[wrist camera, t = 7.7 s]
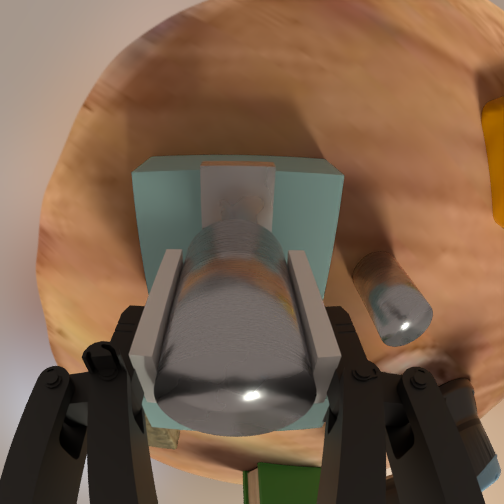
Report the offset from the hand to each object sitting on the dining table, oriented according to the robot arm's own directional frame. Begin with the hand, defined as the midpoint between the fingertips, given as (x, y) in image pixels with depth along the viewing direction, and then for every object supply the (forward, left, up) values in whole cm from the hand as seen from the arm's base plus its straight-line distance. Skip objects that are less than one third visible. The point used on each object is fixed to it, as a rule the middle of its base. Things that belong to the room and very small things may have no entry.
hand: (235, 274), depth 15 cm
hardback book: (-63, -11, -12) cm, 65 cm away
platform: (0, 0, -7) cm, 7 cm away
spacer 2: (-8, -14, -12) cm, 20 cm away
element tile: (+8, -33, -12) cm, 36 cm away
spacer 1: (0, 0, -1) cm, 1 cm away
